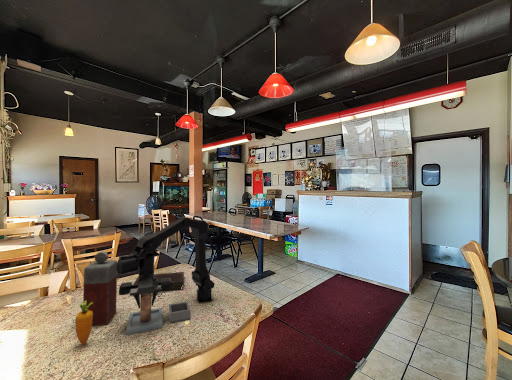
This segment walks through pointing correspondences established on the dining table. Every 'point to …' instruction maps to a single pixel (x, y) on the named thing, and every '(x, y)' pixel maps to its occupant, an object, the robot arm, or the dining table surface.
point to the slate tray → (138, 326)
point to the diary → (175, 280)
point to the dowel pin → (145, 307)
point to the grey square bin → (179, 312)
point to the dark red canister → (101, 288)
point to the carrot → (84, 323)
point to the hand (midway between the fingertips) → (145, 306)
